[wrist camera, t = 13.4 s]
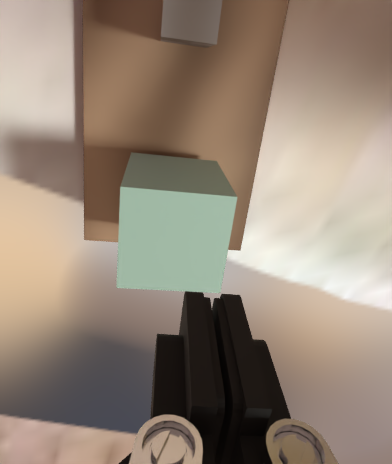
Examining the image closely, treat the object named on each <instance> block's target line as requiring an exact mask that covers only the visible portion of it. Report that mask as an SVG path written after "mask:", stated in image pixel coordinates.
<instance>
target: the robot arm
mask: <svg viewBox="0 0 392 464" xmlns="http://www.w3.org/2000/svg"><path fill="white" fill-rule="evenodd" d="M119 464H338V462H337V460H336V458H335V456H334V454H333V453H332V451H331V449H330V447H329V446H328V444H327V442H326V441H325V439H324V438H323V437H322V435H321V434H320V433H319V432H318V431H316V430H315V429H314V428H313V427H311V426H310V425H308V424H306V423H305V422H302V421H299V420H295V419H291V417H290V414H289V411H288V408H287V405H286V402H285V399H284V395H283V392H282V389H281V387H280V383H279V380H278V377H277V374H276V371H275V368H274V365H273V362H272V359H271V356H270V352H269V350H268V347H267V344H266V342H265V341H264V340H253V339H252V335H251V332H250V328H249V325H248V321H247V318H246V314H245V311H244V307H243V303H242V300H241V297H240V295H232V294H222V295H221V297H220V299H219V298H215V299H214V302H213V307H212V308H211V302H210V298H206V297H204V294H203V292H189V291H185V294H184V301H183V308H182V317H181V324H180V332H179V335H166V334H157V339H156V350H155V361H154V373H153V386H152V402H151V417H150V420H149V421H147V422H146V423H145V424H144V425H143V426H142V428H141V429H140V430H139V432H138V434H137V436H136V439H135V442H134V446H133V450H132V453H130V454H129V455H128V456H127V457H126V458H125V459H123V460H122V461H121V462H120V463H119Z"/></svg>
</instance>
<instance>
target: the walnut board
mask: <svg viewBox="0 0 392 464" xmlns="http://www.w3.org/2000/svg"><path fill="white" fill-rule="evenodd" d="M288 3H289V0H83V115H84V240H93V241H108V242H118V236H119V209H120V186H121V183H122V180H123V177H124V174H125V171H126V167H127V164H128V161H129V158H130V155H131V152H132V153H142V154H152V155H162V156H172V157H182V158H192V159H202V160H212V161H217V162H218V164H219V166H220V168H221V169H222V171H223V173H224V174H225V176H226V178H227V180H228V181H229V183H230V185H231V187H232V188H233V190H234V192H235V194H236V195H237V202H236V208H235V213H234V219H233V225H232V230H231V236H230V241H229V247H228V250H240V249H241V244H242V239H243V234H244V229H245V223H246V218H247V213H248V208H249V203H250V198H251V193H252V188H253V182H254V177H255V172H256V167H257V162H258V157H259V152H260V147H261V141H262V136H263V131H264V126H265V121H266V116H267V111H268V106H269V100H270V95H271V90H272V85H273V80H274V75H275V70H276V65H277V59H278V54H279V49H280V44H281V39H282V34H283V29H284V24H285V18H286V13H287V8H288Z"/></svg>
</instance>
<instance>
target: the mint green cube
mask: <svg viewBox="0 0 392 464" xmlns="http://www.w3.org/2000/svg"><path fill="white" fill-rule="evenodd" d="M236 202H237V195H236V194H235V192H234V190H233V188H232V187H231V185H230V183H229V181H228V180H227V178H226V176H225V174H224V173H223V171H222V169H221V168H220V166H219V164H218V162H217V161H212V160H202V159H192V158H182V157H172V156H162V155H152V154H142V153H132V152H131V155H130V158H129V161H128V164H127V167H126V171H125V174H124V177H123V180H122V183H121V186H120V209H119V236H118V263H117V288H132V289H151V290H170V291H190V292H210V293H220V291H221V286H222V280H223V275H224V269H225V264H226V258H227V253H228V247H229V241H230V236H231V230H232V225H233V219H234V213H235V208H236Z"/></svg>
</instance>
